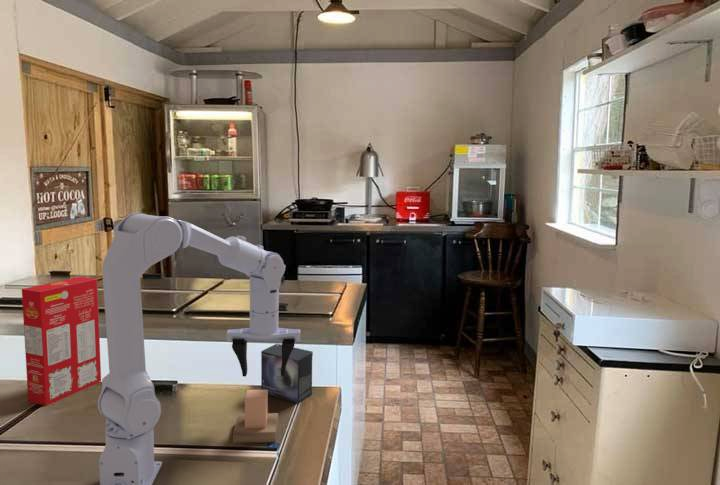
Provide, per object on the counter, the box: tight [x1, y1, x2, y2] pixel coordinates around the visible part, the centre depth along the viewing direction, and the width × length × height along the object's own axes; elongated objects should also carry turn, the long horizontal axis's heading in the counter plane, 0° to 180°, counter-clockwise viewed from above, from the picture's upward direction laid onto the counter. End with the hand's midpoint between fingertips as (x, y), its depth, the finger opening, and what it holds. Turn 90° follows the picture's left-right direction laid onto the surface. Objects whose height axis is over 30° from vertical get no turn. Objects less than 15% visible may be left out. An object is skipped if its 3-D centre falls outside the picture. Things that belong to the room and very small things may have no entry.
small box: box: [260, 343, 314, 404], centre depth 123 cm, size 11×6×10 cm, turn 62°
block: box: [244, 389, 269, 428], centre depth 104 cm, size 4×4×6 cm
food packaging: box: [21, 276, 102, 407], centre depth 120 cm, size 15×5×25 cm, turn 160°
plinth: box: [232, 412, 279, 444], centre depth 105 cm, size 8×8×2 cm
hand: (263, 374), depth 109 cm, fingers open, 7 cm apart
